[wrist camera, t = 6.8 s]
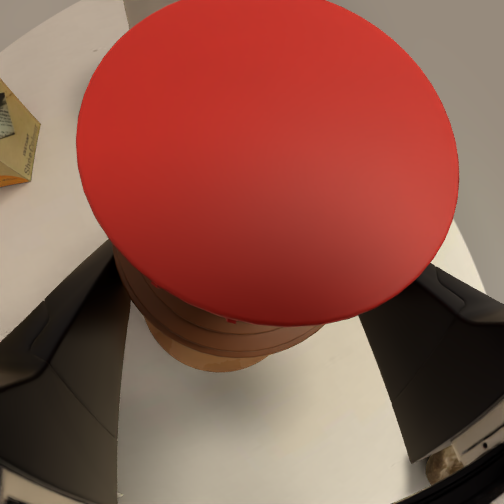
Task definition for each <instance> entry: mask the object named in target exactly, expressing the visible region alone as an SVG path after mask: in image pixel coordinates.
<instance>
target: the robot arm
mask: <svg viewBox="0 0 504 504" xmlns="http://www.w3.org/2000/svg"><path fill="white" fill-rule="evenodd" d="M130 304H131V299H130V297H129V295H128V293H127V291H126V290H125V288H124V286H123V284H122V281H121V279H120V276H119V273H118V271H117V268H116V264H115V259H114V254H113V248H112V242H111V241H110V239H108V240H107V241H106V242H104V243H103V244H102V245H101V246H100V247H99V248H98V249H97V250H95V251H94V252H93V253H92V254H91V255H90V256H89V257H88V258H87V259H86V260H84V261H83V262H82V263H81V264H80V265H79V266H78V267H77V268H76V269H75V270H74V271H73V272H72V273H71V274H70V275H69V276H67V277H66V278H65V279H64V280H63V281H62V282H61V283H60V284H59V285H58V286H57V287H56V288H55V289H54V290H53V291H52V292H51V293H50V294H49V295H48V296H47V297H46V298H45V301H42V302H41V303H40V304H39V305H38V306H37V307H36V308H35V309H34V310H33V311H32V312H31V313H30V314H29V315H28V316H27V317H26V318H25V319H24V320H23V321H22V322H21V323H20V324H19V325H18V326H17V327H16V328H15V329H14V330H13V331H12V332H11V333H10V334H8V335H7V336H6V337H5V338H4V339H3V340H2V341H1V342H0V504H118V496H117V446H118V441H117V439H118V419H119V403H120V390H121V379H122V369H123V359H124V350H125V342H126V335H127V327H128V320H129V313H130ZM358 316H359V318H360V321H361V323H362V326H363V328H364V331H365V333H366V336H367V338H368V341H369V343H370V346H371V349H372V351H373V354H374V356H375V359H376V362H377V364H378V367H379V370H380V372H381V375H382V378H383V381H384V383H385V386H386V389H387V392H388V395H389V397H390V400H391V402H392V407H393V409H394V412H395V415H396V418H397V421H398V424H399V427H400V430H401V434H402V437H403V440H404V443H405V446H406V449H407V453H408V456H409V459H410V462H411V464H413V463H415V462H417V461H420V460H422V459H424V458H426V457H428V456H430V455H432V454H434V453H436V452H438V451H440V450H442V449H444V448H446V447H448V446H450V445H452V446H453V448H454V451H455V453H456V456H457V458H458V461H459V463H460V462H461V461H462V464H463V466H464V467H463V468H461V469H460V470H458V471H456V472H454V473H453V474H451V475H449V476H447V477H446V478H444V479H442V480H440V481H438V482H436V483H434V484H433V485H431V486H429V487H427V488H425V489H423V490H421V491H419V492H416V493H414V494H412V495H410V496H408V497H406V498H403V499H401V500H399V501H397V502H394V503H392V504H504V304H502V303H500V302H498V301H496V300H495V299H492V298H491V297H489V296H487V295H486V294H484V293H482V292H480V291H478V290H477V289H475V288H473V287H471V286H469V285H468V284H466V283H464V282H462V281H460V280H458V279H457V278H455V277H453V276H452V275H450V274H448V273H447V272H445V271H443V270H441V269H440V268H438V267H435V265H433V264H431V263H430V264H429V265H428V266H427V267H426V268H425V270H424V271H423V272H422V273H421V274H420V275H419V277H418V278H417V279H416V280H414V281H413V282H412V283H411V284H410V285H409V286H408V287H406V288H405V289H404V290H403V291H402V292H400V293H399V294H398V295H396V296H395V297H393V298H392V299H390V300H388V301H387V302H385V303H383V304H382V305H380V306H378V307H377V308H375V309H372V310H370V311H367V312H365V313H362V314H360V315H358Z"/></svg>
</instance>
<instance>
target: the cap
mask: <svg viewBox="0 0 504 504" xmlns="http://www.w3.org/2000/svg"><path fill="white" fill-rule="evenodd" d="M76 149H77V162H78V169H79V173H80V178H81V182H82V186H83V189H84V193H85V195H86V197H87V200H88V202H89V204H90V207H91V209H92V211H93V214H94V216H95V218H96V219H97V221H98V223H99V224H100V226H101V227H102V229H103V230H104V232H105V233H106V235H107V236H108V238H109V239H110V241H111V242H112V244H113V245H114V246H115V247H116V248H117V249H118V250H119V251H120V252H121V254H122V255H123V256H124V257H125V258H126V259H127V260H128V261H129V262H130V263H131V265H132V266H134V267H135V268H136V269H137V270H138V271H140V272H141V273H142V274H143V275H145V276H146V277H147V278H148V279H150V280H151V281H152V282H151V284H152V285H154V286H155V287H156V288H160V289H163V290H165V291H167V292H168V293H170V294H172V295H174V296H175V297H177V298H179V299H181V300H182V301H184V302H186V303H188V304H190V305H192V306H195V307H197V308H200V309H202V310H205V311H207V312H210V313H212V314H215V315H217V316H220V317H223V318H225V319H226V321H227V322H229V323H233V324H236V321H240V322H245V323H249V324H253V325H263V326H275V327H304V326H318V325H324V324H328V323H333V322H337V321H341V320H346V319H350V318H352V317H355V316H357V315H360V314H362V313H365V312H367V311H370V310H372V309H375V308H377V307H378V306H380V305H382V304H383V303H385V302H387V301H388V300H390V299H392V298H393V297H395V296H396V295H398V294H399V293H400V292H402V291H403V290H404V289H405V288H406V287H408V286H409V285H410V284H411V283H412V282H413V281H414V280H416V279H417V278H418V277H419V275H420V274H421V273H422V272H423V271H424V270H425V268H426V267H427V266H428V265H429V264H430V262H431V261H432V260H433V259H434V257H435V255H436V254H437V252H438V250H439V249H440V247H441V245H442V244H443V242H444V240H445V238H446V235H447V233H448V230H449V228H450V225H451V223H452V220H453V216H454V212H455V208H456V204H457V198H458V187H459V162H458V154H457V149H456V142H455V138H454V134H453V131H452V128H451V124H450V121H449V118H448V116H447V114H446V111H445V109H444V107H443V104H442V102H441V100H440V98H439V97H438V95H437V93H436V91H435V89H434V88H433V86H432V84H431V83H430V81H429V80H428V79H427V77H426V76H425V74H424V73H423V71H422V70H421V69H420V67H419V66H418V65H417V64H416V63H415V62H414V60H413V59H412V58H411V57H410V56H409V55H408V54H407V53H406V52H405V51H404V50H403V49H402V48H401V47H400V46H399V45H398V44H397V43H396V42H395V41H394V40H393V39H391V38H390V37H389V36H388V35H386V34H385V33H384V32H383V31H381V30H380V29H379V28H377V27H376V26H374V25H373V24H371V23H370V22H368V21H367V20H365V19H363V18H362V17H360V16H358V15H356V14H355V13H352V12H351V11H349V10H347V9H345V8H343V7H341V6H338V5H336V4H333V3H331V2H328V1H326V0H179V1H177V2H174V3H172V4H170V5H167V6H165V7H164V8H162V9H160V10H158V11H156V12H154V13H152V14H151V15H149V16H148V17H146V18H145V19H143V20H142V21H140V22H139V23H138V24H136V25H135V26H133V27H132V28H131V29H130V30H129V31H128V32H127V33H125V34H124V35H123V36H122V37H121V38H120V39H119V40H118V41H117V42H116V43H115V44H114V46H113V47H112V48H111V49H110V50H109V51H108V53H107V54H106V55H105V56H104V58H103V59H102V61H101V62H100V64H99V66H98V67H97V69H96V70H95V72H94V74H93V75H92V78H91V80H90V82H89V84H88V87H87V89H86V91H85V94H84V97H83V100H82V104H81V108H80V112H79V116H78V124H77V135H76Z"/></svg>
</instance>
